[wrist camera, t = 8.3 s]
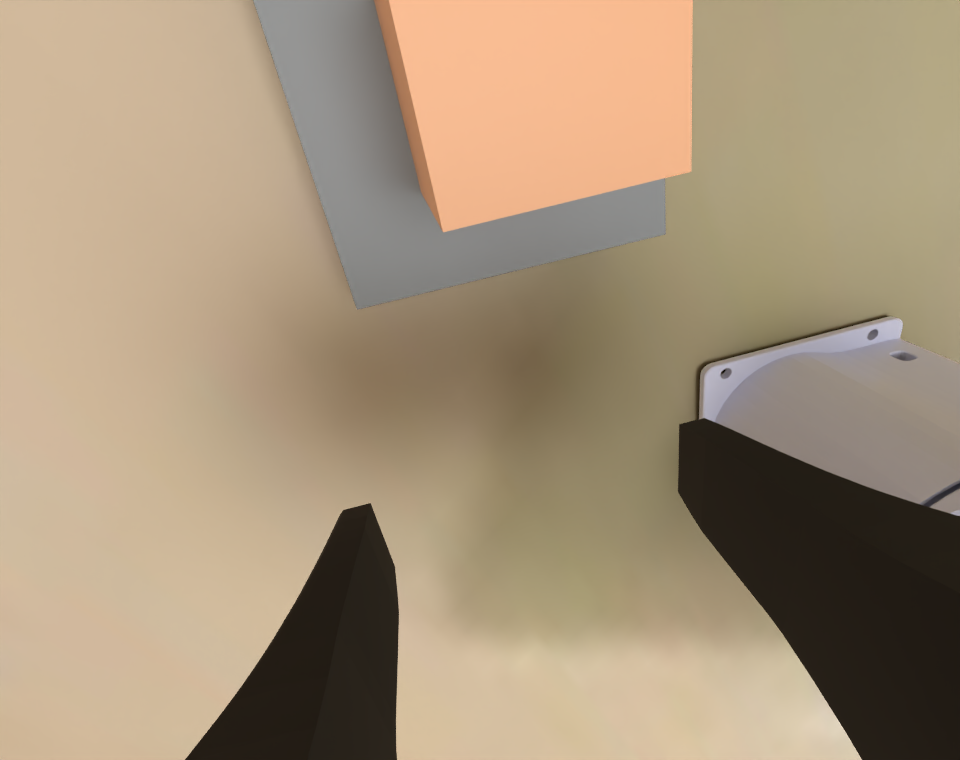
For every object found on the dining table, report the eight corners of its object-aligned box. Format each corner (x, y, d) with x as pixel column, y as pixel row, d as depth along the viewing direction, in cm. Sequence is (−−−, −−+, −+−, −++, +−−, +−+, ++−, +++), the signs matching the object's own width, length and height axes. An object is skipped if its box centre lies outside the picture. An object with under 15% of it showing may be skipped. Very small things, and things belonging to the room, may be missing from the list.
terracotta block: (557, -50, 12) (694, -190, 7) (576, 155, 14) (691, 171, 9) (371, -10, 12) (360, -122, 6) (421, 192, 14) (442, 232, 9)
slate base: (606, -152, 13) (660, -219, 11) (625, 218, 18) (665, 234, 16) (244, -80, 13) (208, -134, 10) (361, 282, 18) (357, 309, 15)
